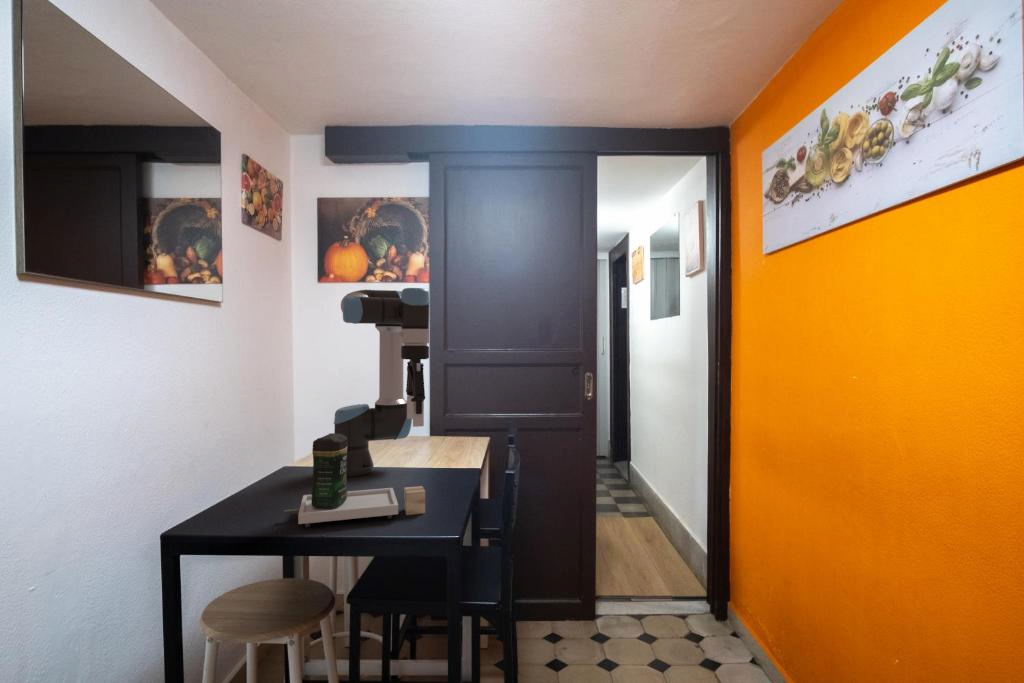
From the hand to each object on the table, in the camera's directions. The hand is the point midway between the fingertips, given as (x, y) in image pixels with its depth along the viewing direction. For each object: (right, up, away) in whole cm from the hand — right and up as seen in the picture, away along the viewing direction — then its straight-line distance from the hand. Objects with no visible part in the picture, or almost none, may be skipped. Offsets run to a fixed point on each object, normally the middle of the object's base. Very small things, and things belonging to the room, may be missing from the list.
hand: (414, 422), depth 138 cm
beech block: (0, -24, 0) cm, 24 cm away
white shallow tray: (-19, -24, -4) cm, 31 cm away
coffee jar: (-22, -21, -4) cm, 31 cm away
